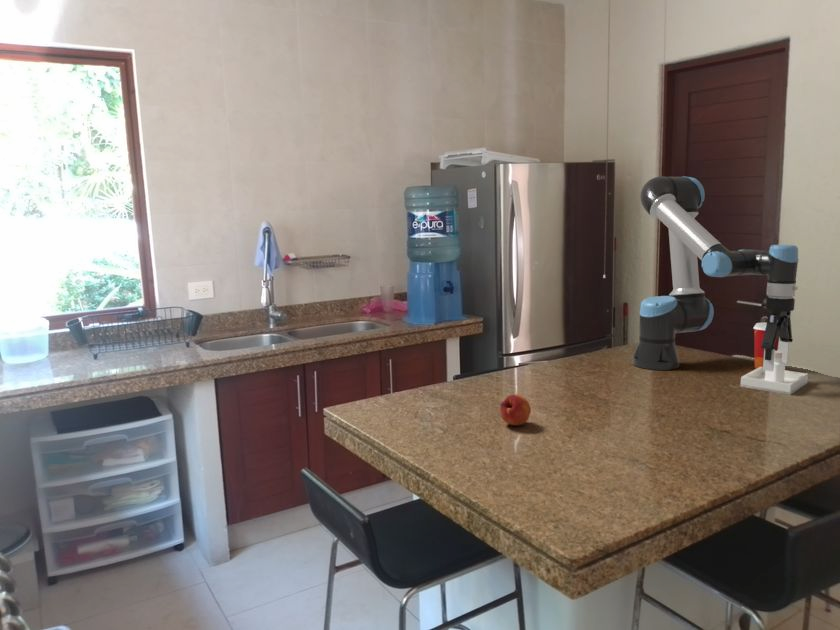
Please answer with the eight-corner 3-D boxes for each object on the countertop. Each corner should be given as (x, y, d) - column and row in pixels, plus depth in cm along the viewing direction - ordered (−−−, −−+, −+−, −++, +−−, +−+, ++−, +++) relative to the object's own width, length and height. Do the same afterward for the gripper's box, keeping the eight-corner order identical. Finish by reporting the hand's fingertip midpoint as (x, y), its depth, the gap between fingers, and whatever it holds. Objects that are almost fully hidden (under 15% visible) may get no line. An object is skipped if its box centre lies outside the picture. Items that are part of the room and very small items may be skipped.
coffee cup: (772, 365, 226) (775, 322, 224) (782, 371, 218) (786, 326, 216) (746, 365, 227) (749, 322, 225) (756, 371, 219) (759, 326, 217)
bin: (740, 386, 201) (741, 377, 201) (760, 375, 213) (760, 366, 213) (789, 394, 192) (790, 384, 191) (807, 383, 204) (808, 373, 204)
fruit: (493, 422, 171) (493, 392, 170) (520, 418, 174) (520, 388, 173) (509, 431, 164) (509, 400, 162) (537, 427, 167) (537, 396, 166)
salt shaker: (775, 384, 200) (777, 353, 198) (763, 381, 203) (765, 351, 202) (784, 383, 201) (787, 352, 200) (773, 380, 205) (775, 349, 204)
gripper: (781, 302, 187) (775, 376, 190) (806, 293, 204) (801, 361, 208) (752, 300, 192) (747, 371, 195) (780, 291, 210) (775, 357, 213)
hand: (775, 366), depth 202 cm, fingers open, 13 cm apart
